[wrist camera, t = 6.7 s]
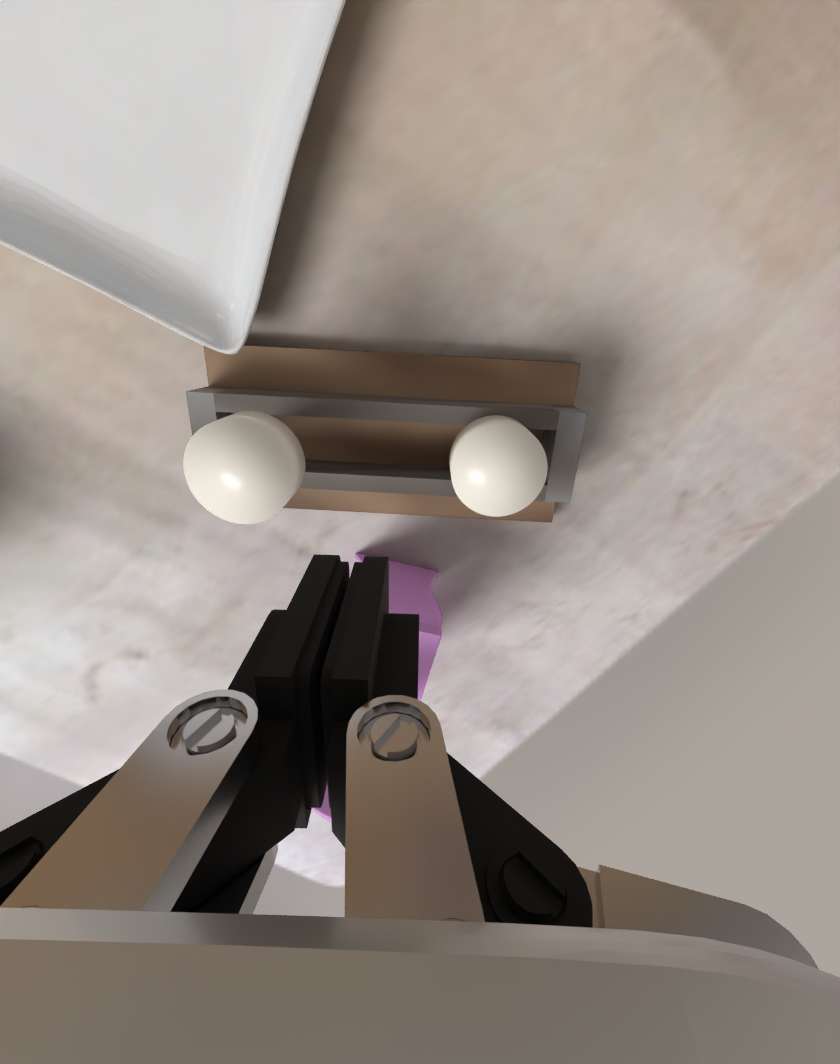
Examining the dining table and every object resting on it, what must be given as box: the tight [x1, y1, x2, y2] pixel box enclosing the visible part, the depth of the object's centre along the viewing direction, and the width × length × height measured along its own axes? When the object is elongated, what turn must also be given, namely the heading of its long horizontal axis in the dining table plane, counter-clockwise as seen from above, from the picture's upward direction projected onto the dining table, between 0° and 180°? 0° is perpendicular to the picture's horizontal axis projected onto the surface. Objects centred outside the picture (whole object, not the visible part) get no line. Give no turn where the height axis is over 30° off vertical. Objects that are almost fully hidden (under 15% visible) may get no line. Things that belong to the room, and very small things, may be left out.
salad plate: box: [0, 0, 346, 354], centre depth 21 cm, size 21×21×3 cm
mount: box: [186, 345, 587, 522], centre depth 28 cm, size 10×22×4 cm, turn 87°
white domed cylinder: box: [449, 415, 548, 517], centre depth 25 cm, size 5×5×5 cm
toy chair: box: [312, 553, 442, 822], centre depth 28 cm, size 8×9×15 cm
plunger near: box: [183, 411, 305, 524], centre depth 22 cm, size 5×5×5 cm
